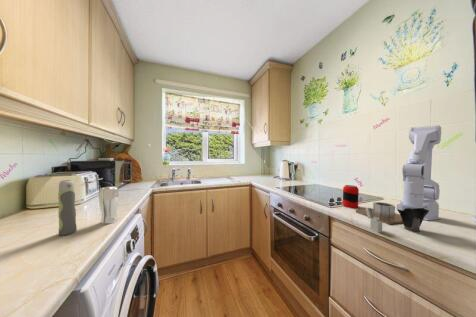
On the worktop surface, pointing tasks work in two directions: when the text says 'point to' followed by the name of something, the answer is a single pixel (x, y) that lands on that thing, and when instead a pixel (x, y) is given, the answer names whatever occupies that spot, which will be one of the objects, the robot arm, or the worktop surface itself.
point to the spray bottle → (67, 208)
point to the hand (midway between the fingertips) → (411, 226)
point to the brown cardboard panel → (384, 213)
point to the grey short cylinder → (414, 225)
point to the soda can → (350, 196)
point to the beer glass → (109, 204)
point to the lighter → (374, 221)
